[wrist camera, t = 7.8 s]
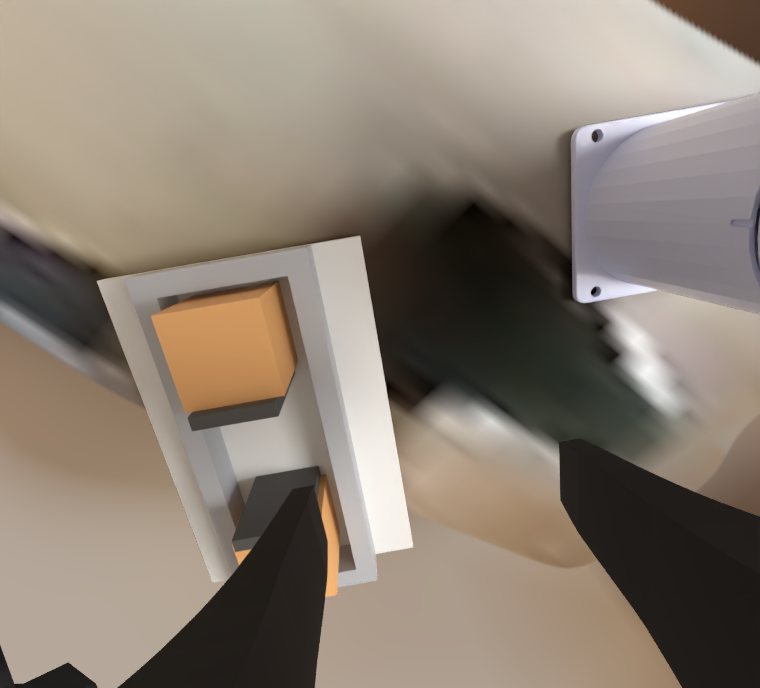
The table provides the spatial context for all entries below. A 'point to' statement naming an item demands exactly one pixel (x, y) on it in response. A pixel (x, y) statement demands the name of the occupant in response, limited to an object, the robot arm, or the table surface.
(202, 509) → the grey frame base
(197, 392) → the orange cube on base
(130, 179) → the table surface
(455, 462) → the table surface
